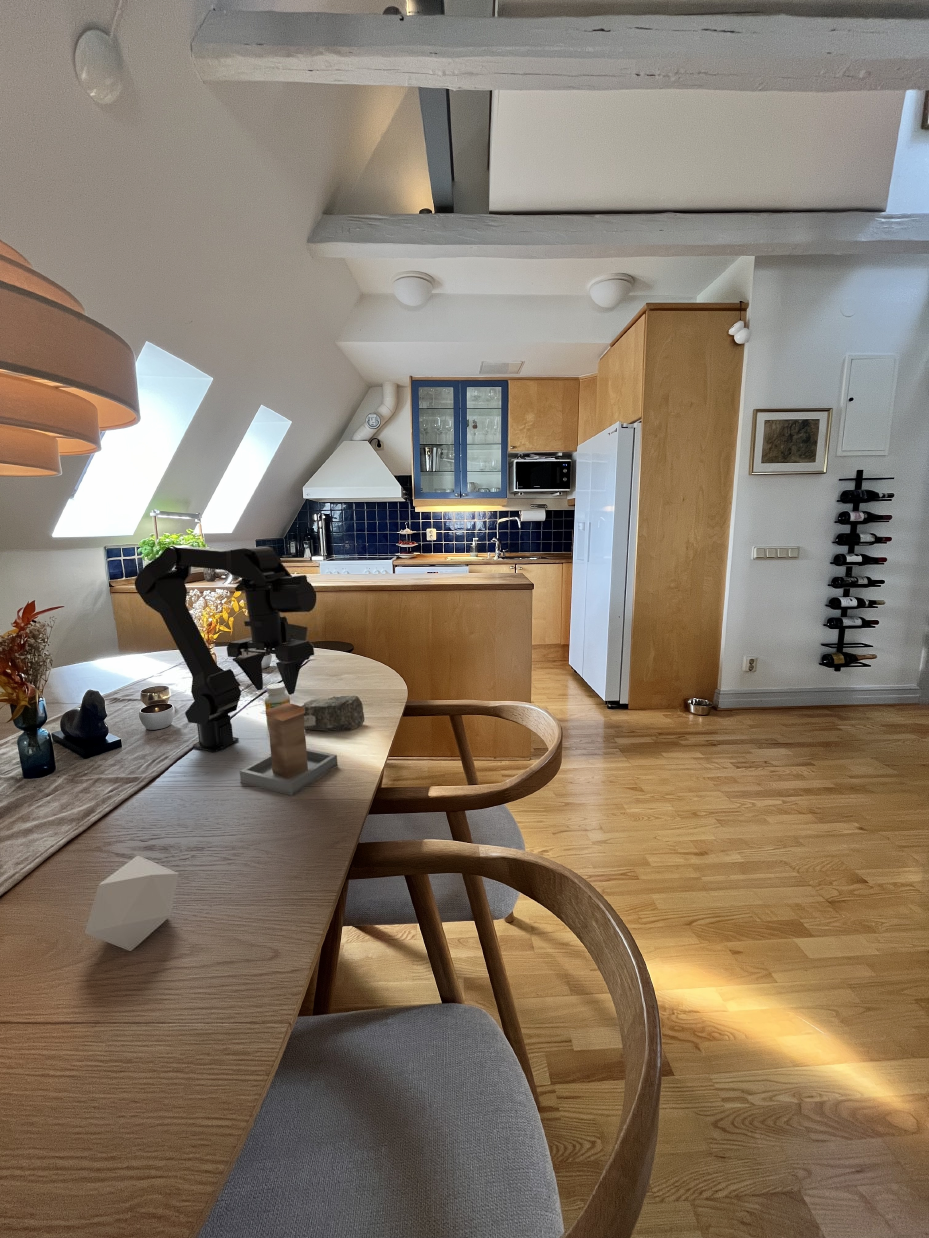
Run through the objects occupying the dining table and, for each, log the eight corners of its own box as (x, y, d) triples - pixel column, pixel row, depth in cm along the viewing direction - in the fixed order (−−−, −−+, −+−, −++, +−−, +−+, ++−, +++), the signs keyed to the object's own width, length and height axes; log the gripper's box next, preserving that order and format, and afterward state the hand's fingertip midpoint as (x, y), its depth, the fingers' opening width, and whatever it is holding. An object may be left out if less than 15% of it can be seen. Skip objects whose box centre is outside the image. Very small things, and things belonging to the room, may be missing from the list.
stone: (308, 755, 112) (286, 713, 112) (316, 746, 120) (295, 707, 119) (367, 724, 113) (345, 682, 113) (371, 717, 121) (350, 678, 120)
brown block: (271, 772, 95) (265, 710, 92) (292, 762, 99) (287, 702, 96) (287, 779, 92) (282, 715, 90) (309, 768, 96) (304, 707, 94)
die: (143, 902, 64) (77, 870, 59) (202, 867, 64) (141, 832, 59) (127, 972, 58) (50, 943, 52) (193, 933, 57) (123, 901, 52)
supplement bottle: (288, 719, 122) (285, 680, 120) (294, 726, 118) (291, 686, 116) (264, 724, 119) (261, 684, 117) (270, 732, 115) (266, 691, 113)
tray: (240, 782, 93) (239, 770, 92) (288, 754, 103) (288, 744, 103) (292, 795, 88) (291, 783, 87) (337, 765, 98) (336, 754, 98)
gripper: (330, 606, 101) (339, 684, 103) (267, 606, 110) (277, 677, 113) (284, 616, 91) (296, 701, 94) (219, 615, 101) (231, 692, 103)
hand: (275, 691), depth 101 cm, fingers open, 9 cm apart
